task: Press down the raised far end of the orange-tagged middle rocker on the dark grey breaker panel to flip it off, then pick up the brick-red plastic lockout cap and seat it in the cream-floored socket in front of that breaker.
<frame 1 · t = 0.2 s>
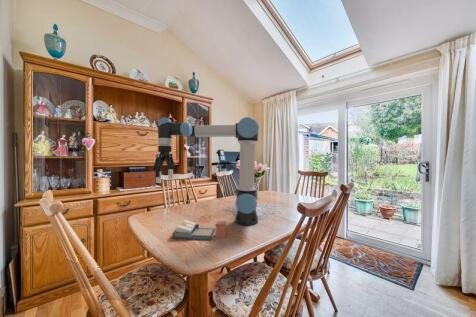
hand: (165, 181, 120), 27 cm above the table, fingers open, 13 cm apart
rocker 2: (186, 227, 109), point 4 cm above the table, hinge at -14.0°
rocker 1: (188, 224, 113), point 4 cm above the table, hinge at -14.0°
rocker 3: (184, 229, 105), point 4 cm above the table, hinge at -14.0°
lockout cap: (220, 235, 108), on the table
breaker panel: (194, 234, 109), on the table
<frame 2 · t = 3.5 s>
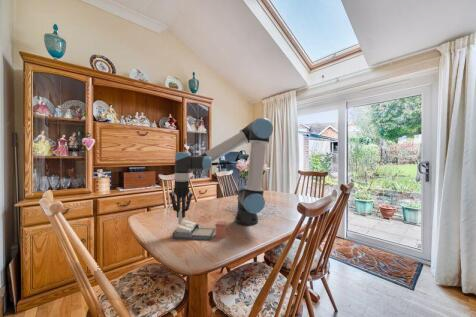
hand: (180, 223, 110), 6 cm above the table, fingers closed
rocker 2: (186, 227, 109), point 4 cm above the table, hinge at -9.3°, touching gripper
everything else where it was.
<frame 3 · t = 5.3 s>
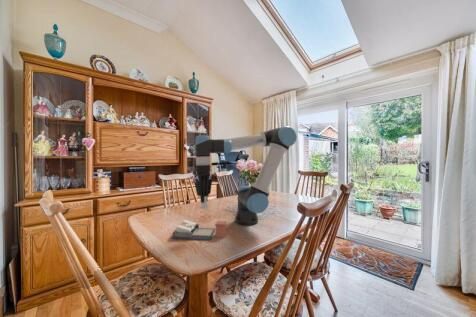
hand: (204, 208, 108), 15 cm above the table, fingers closed
rocker 2: (186, 227, 109), point 4 cm above the table, hinge at 7.2°
everything else where it was.
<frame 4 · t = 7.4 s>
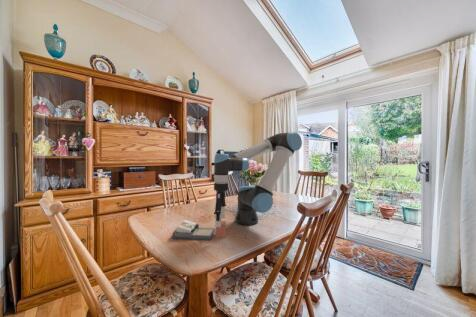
hand: (220, 222, 107), 7 cm above the table, fingers open, 13 cm apart
rocker 2: (186, 227, 109), point 4 cm above the table, hinge at 7.9°
everything else where it was.
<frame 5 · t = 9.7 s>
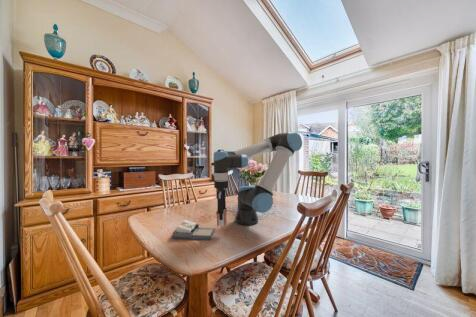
hand: (222, 223, 108), 7 cm above the table, fingers closed on lockout cap, 5 cm apart
lockout cap: (221, 224, 108), point 6 cm above the table, touching gripper
everything else where it was.
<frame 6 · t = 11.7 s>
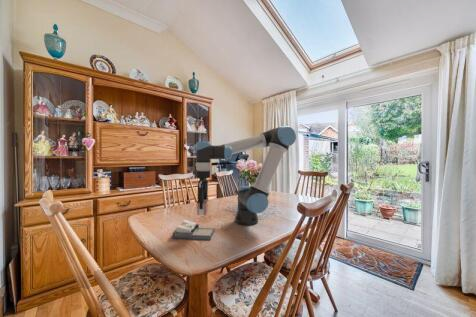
hand: (202, 213, 108), 12 cm above the table, fingers closed on lockout cap, 5 cm apart
lockout cap: (202, 213, 109), point 11 cm above the table, touching gripper
everything else where it was.
when the fingers open (2 cm above the table, at t = 13.7 s): lockout cap stays where it is, resting on breaker panel.
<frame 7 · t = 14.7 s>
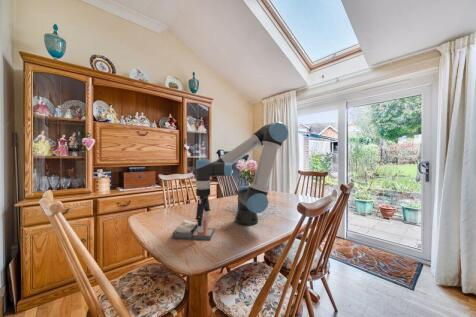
hand: (203, 227, 109), 4 cm above the table, fingers open, 13 cm apart
lockout cap: (202, 231, 109), point 1 cm above the table, touching breaker panel
everything else where it was.
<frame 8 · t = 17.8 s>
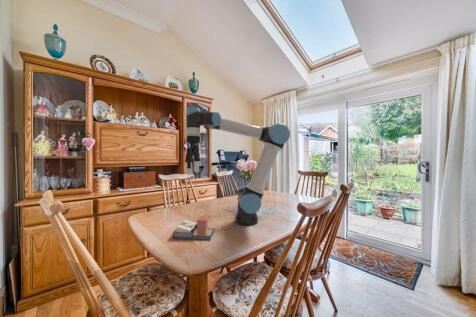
hand: (193, 173, 114), 33 cm above the table, fingers open, 13 cm apart
nothing on the table moved.
at the end: rocker 2 at +8° (first picture: -14°); lockout cap 0.3 cm from the target spot, point 1.4 cm above the table; lockout cap tilted 0° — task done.
